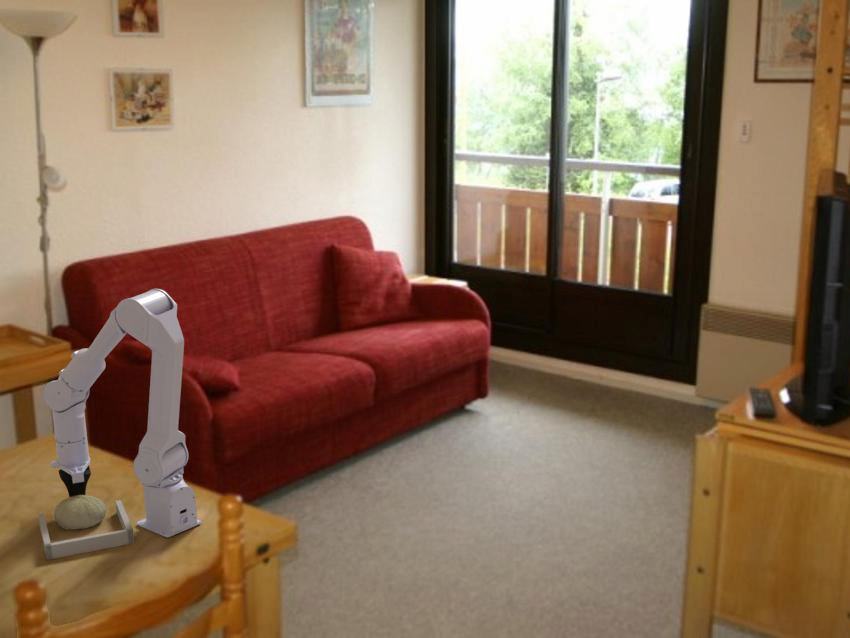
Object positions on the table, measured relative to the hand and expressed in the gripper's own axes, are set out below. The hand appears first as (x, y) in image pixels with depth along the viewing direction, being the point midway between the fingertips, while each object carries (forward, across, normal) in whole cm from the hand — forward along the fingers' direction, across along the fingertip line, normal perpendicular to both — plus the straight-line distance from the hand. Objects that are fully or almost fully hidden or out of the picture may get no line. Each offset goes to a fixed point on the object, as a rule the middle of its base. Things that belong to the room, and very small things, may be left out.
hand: (78, 504), depth 203 cm
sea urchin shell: (+2, +6, 0) cm, 6 cm away
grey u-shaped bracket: (+1, +12, 0) cm, 12 cm away
